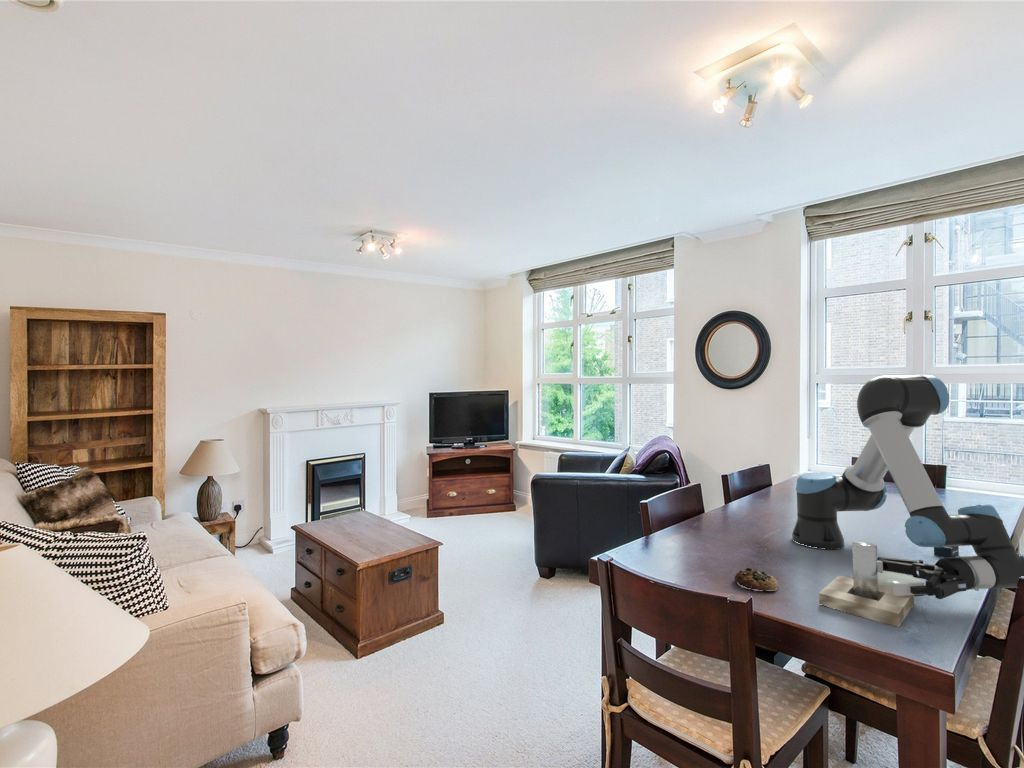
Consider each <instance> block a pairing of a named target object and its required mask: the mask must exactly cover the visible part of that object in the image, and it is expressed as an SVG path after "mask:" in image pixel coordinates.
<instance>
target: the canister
mask: <svg viewBox="0 0 1024 768" xmlns="http://www.w3.org/2000/svg"><path fill="white" fill-rule="evenodd" d="M851 547H852V548H851V549H852V573H853V574H852V576H853V578H852V579H853V581H854V595H856V596H861V597H865V598H869V599H873V600H877V601H879V595H878V563H877V557H878V546H877V544H875V543H873V542H869V541H868V542H867V541H861V540H860V541H859V540H858V541H857V540H856V541H852V543H851Z"/></svg>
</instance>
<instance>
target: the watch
mask: <svg viewBox="0 0 1024 768" xmlns="http://www.w3.org/2000/svg"><path fill="white" fill-rule="evenodd" d="M959 547H960V546H946V547H940V548H938V547H933V555H934V556H938V557H940V558H949V557H959V555H960V554H959V553H960V552H959V551H960V550H959V549H960V548H959Z"/></svg>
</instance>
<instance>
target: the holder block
mask: <svg viewBox="0 0 1024 768" xmlns="http://www.w3.org/2000/svg"><path fill="white" fill-rule="evenodd" d="M878 595H879V601H877V600H873V599H869V598H865V597H861V596H856V595H854V581H853V578H851V577H848V576H842V575H837V577H836V578H834V579H833V580H832V581H831V582H830V583H829V584H827V585H826V586H825V587H824V588H823V589H822V590H820V591H819V593H818V603H819V604H822V605H825V606H828V607H831V608H835V609H839V610H842V611H845V612H844V613H846V612H849V613H851V614H850V615H853V614H854V616H857V617H860V616H861V618H865V619H868V620H872V621H875V622H880V623H883V624H886V625H890V626H893V627H897V628H899V627H900V626H901V625H902V623H903V622H904V621H905V619H906V618H907V616H908V615H909V613H910V611H911V610H912V608H913V607H914V606H915V595H904V596H895V595H894V594H893V588H892V587H887V586H883V585H878ZM831 608H830V609H831ZM835 609H834V610H835ZM842 611H841V612H842ZM849 613H848V614H849Z"/></svg>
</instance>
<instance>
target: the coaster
mask: <svg viewBox="0 0 1024 768" xmlns="http://www.w3.org/2000/svg"><path fill="white" fill-rule="evenodd" d="M920 581H922V582H924V586H925V585H926V582H925V581H924V580H922V579H920V578H915V577H913V576H912V575H908V574H902V573H896V572H890V571H883V572H882V573H880V572H878V585H883V586H887V587H892V588H893V583H901V582H920Z"/></svg>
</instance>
